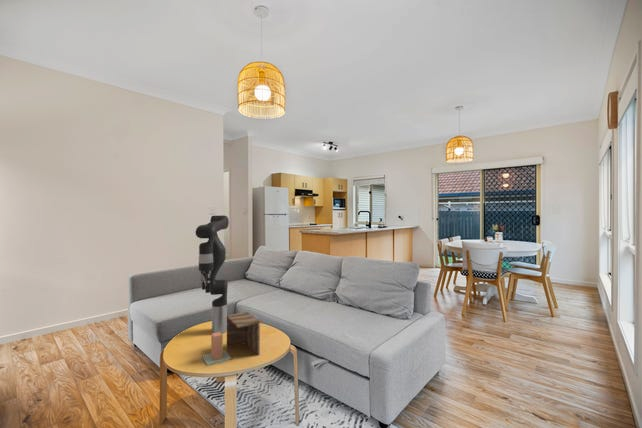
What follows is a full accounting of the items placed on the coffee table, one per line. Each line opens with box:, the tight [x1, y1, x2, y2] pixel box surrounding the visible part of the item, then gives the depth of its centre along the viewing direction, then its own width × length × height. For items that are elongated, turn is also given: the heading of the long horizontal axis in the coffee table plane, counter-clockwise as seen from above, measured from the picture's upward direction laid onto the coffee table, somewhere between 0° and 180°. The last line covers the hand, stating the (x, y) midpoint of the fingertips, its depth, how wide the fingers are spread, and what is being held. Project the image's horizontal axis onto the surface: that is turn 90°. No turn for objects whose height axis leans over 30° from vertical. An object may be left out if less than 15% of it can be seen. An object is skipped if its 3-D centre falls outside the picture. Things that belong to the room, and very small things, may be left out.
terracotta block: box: [210, 332, 224, 360], centre depth 153 cm, size 4×4×12 cm
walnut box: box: [226, 311, 261, 356], centre depth 161 cm, size 19×12×18 cm, turn 34°
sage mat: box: [201, 349, 232, 366], centre depth 153 cm, size 11×12×1 cm
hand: (205, 291), depth 161 cm, fingers open, 8 cm apart
